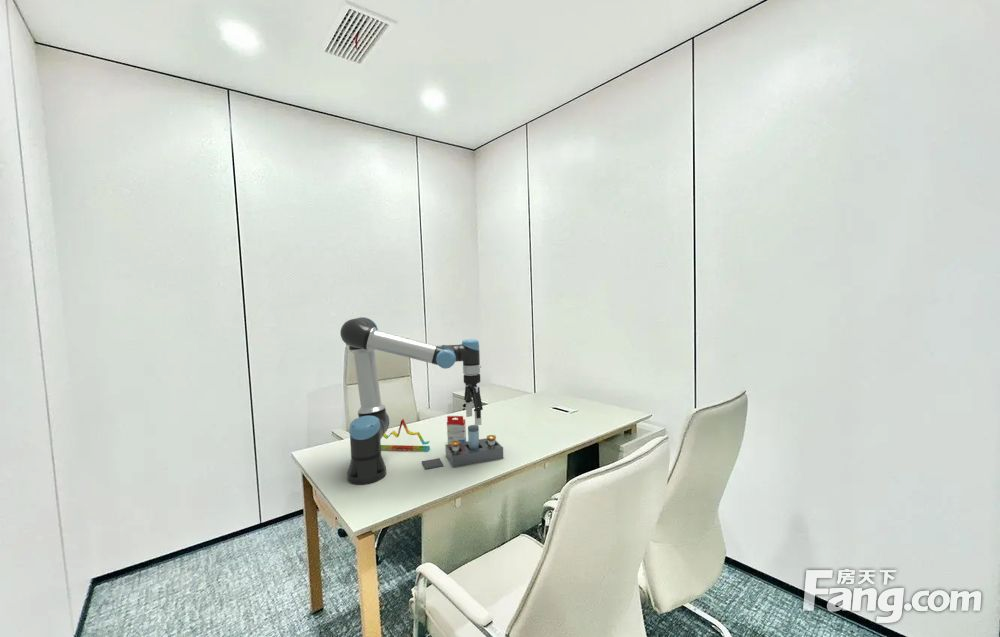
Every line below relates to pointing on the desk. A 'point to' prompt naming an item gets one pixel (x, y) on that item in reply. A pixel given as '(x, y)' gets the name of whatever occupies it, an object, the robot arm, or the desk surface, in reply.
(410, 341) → the robot arm
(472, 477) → the desk surface
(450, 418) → the ink box
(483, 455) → the housing
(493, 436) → the plunger far
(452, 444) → the plunger near
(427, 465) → the pad
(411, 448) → the chart
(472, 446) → the cylinder
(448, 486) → the desk surface
